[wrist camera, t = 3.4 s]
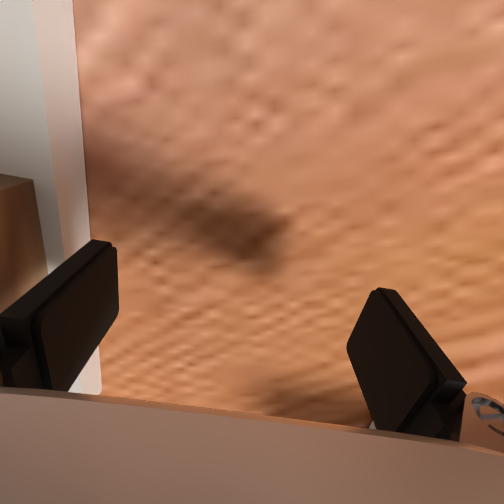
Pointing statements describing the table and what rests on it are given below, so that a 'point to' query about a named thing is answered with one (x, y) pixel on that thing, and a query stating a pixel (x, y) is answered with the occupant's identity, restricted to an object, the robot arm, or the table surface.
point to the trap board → (46, 130)
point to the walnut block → (19, 240)
